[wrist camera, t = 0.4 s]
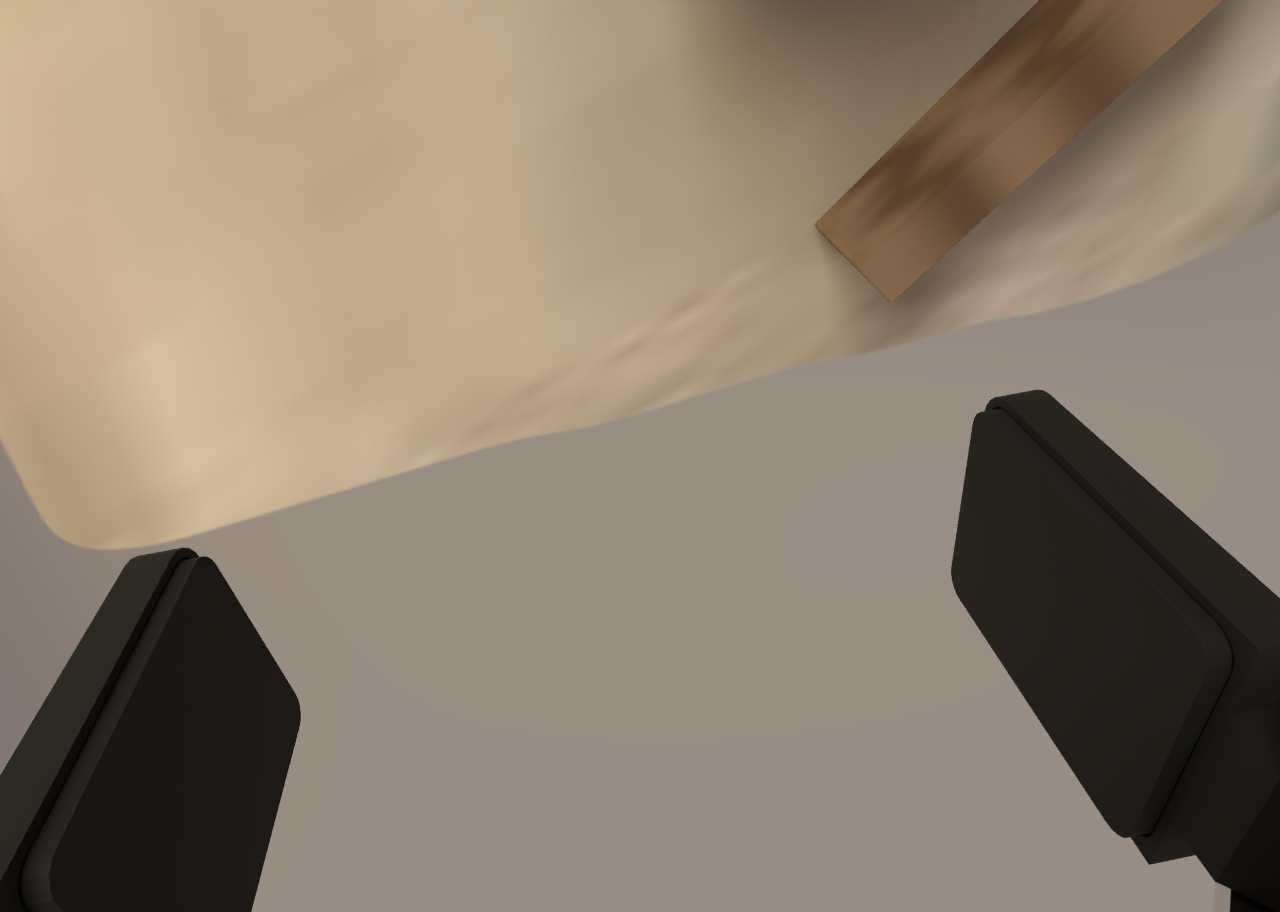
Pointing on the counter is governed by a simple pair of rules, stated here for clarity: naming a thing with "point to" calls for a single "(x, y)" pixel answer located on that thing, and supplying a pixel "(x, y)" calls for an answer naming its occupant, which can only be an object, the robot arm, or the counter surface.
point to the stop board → (998, 130)
